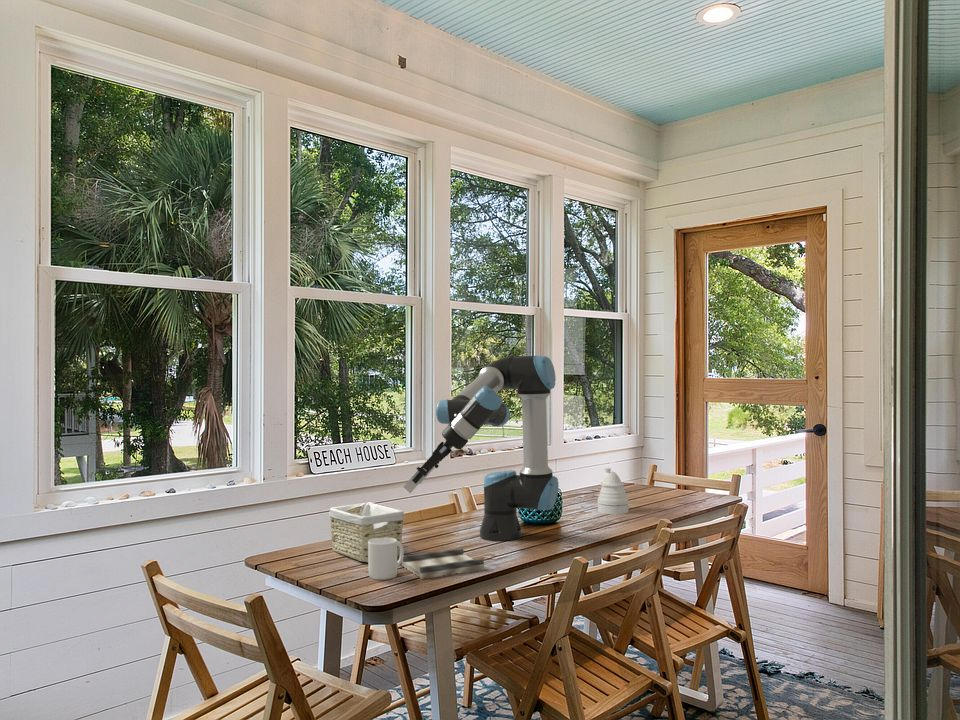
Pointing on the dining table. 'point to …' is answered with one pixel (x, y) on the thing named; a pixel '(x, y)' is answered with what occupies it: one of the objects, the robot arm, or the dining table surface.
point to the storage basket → (363, 528)
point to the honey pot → (612, 495)
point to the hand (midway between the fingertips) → (412, 485)
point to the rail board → (441, 563)
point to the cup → (383, 558)
